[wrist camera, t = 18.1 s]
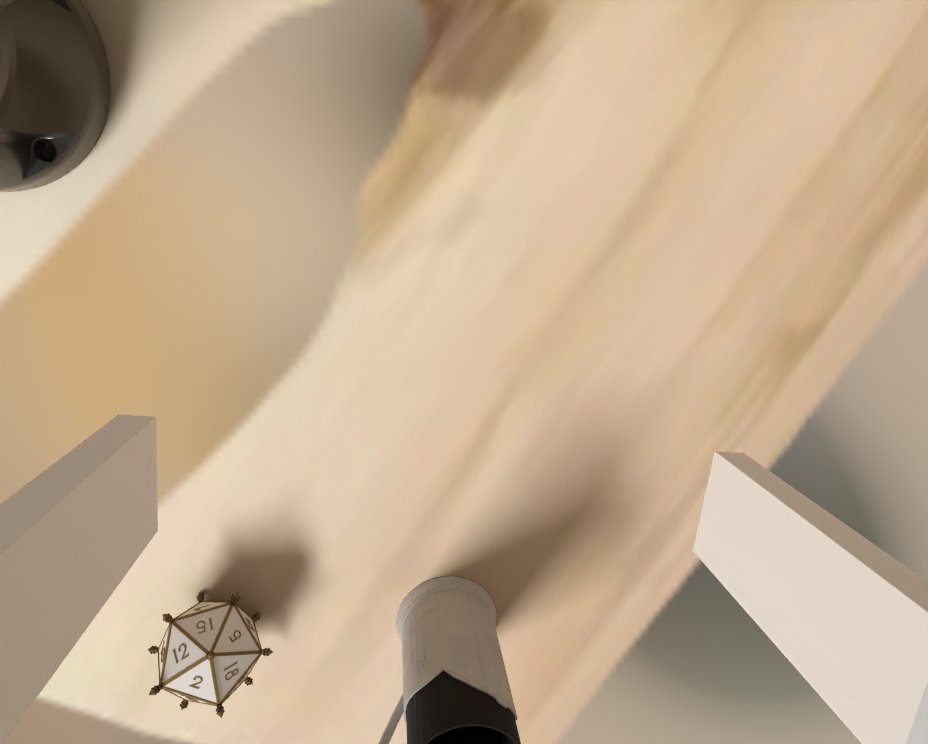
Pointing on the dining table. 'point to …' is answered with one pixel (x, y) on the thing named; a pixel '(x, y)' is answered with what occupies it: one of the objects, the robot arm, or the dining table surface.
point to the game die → (208, 652)
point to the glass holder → (452, 667)
